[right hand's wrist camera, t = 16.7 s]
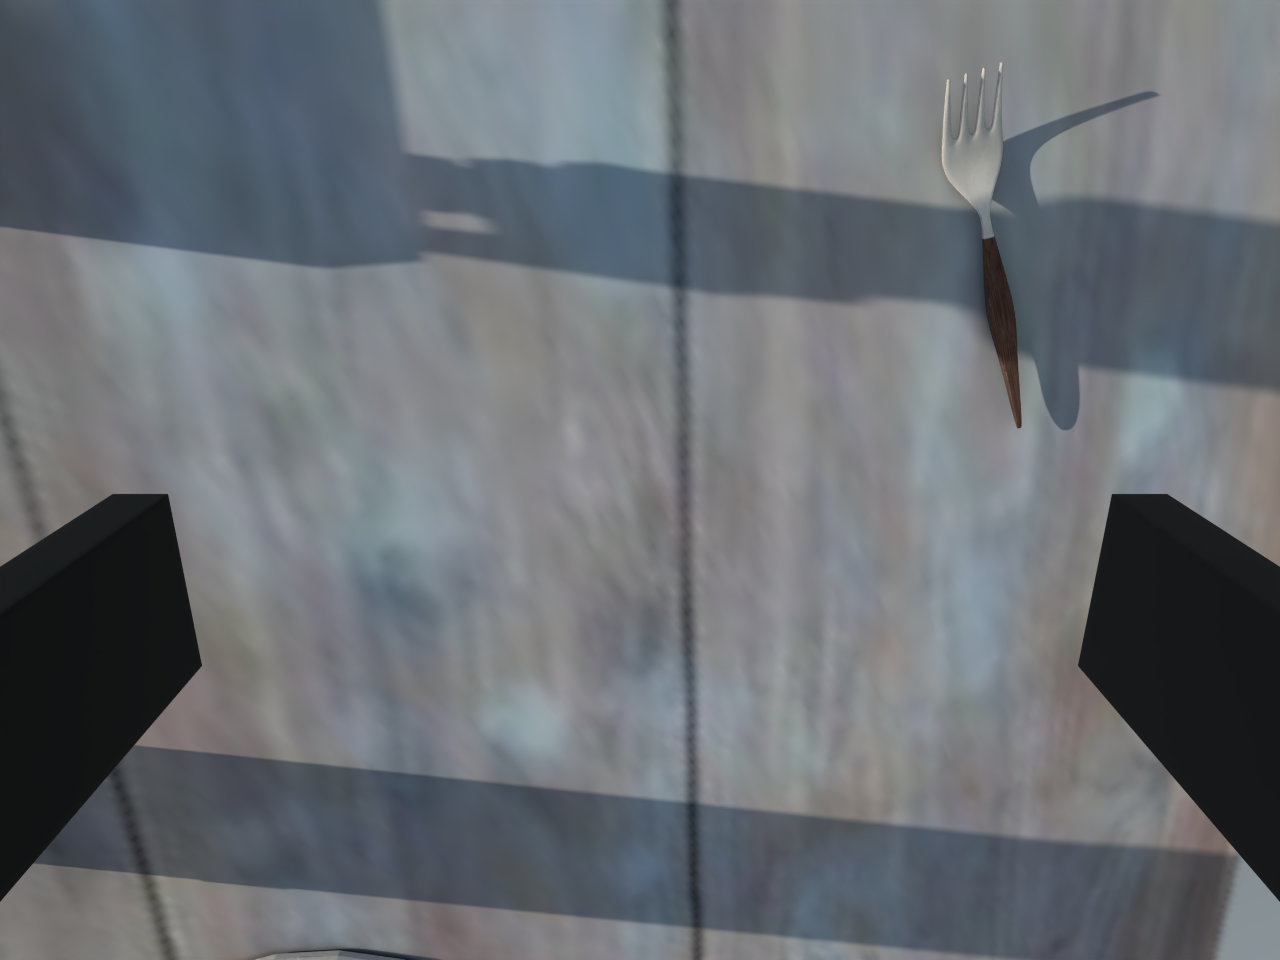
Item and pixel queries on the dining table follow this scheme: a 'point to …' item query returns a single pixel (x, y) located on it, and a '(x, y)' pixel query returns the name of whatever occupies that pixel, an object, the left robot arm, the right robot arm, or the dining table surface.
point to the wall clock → (325, 956)
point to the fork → (985, 218)
